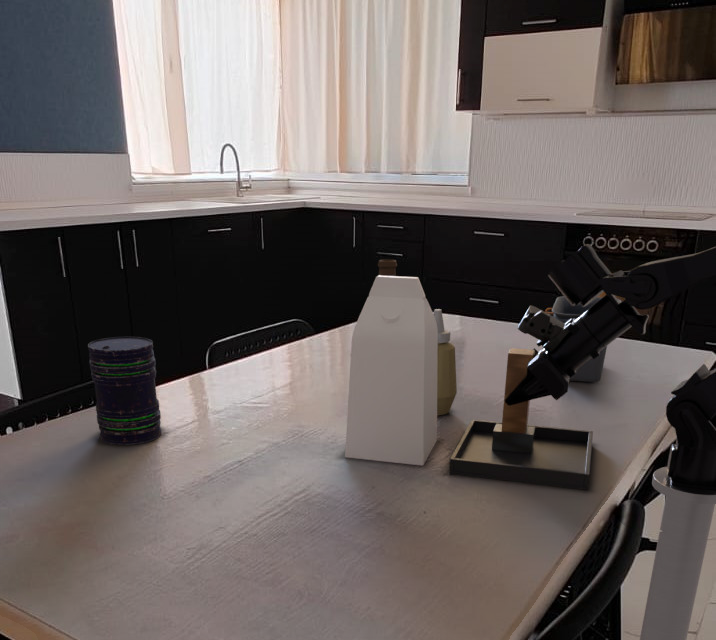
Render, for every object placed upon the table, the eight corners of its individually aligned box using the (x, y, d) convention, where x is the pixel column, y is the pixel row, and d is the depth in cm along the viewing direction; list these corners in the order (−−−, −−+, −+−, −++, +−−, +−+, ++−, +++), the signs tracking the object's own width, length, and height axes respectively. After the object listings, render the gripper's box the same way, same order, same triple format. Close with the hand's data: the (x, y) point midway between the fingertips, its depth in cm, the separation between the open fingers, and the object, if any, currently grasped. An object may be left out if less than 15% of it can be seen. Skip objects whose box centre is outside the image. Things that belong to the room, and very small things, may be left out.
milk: (436, 440, 123) (445, 273, 113) (423, 465, 113) (431, 284, 103) (364, 433, 126) (367, 270, 116) (344, 457, 116) (345, 280, 106)
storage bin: (612, 388, 153) (622, 315, 147) (533, 381, 157) (540, 310, 151) (612, 363, 171) (621, 298, 166) (541, 358, 175) (548, 294, 170)
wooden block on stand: (533, 445, 120) (543, 350, 114) (531, 453, 117) (541, 355, 111) (494, 441, 122) (502, 347, 116) (491, 449, 118) (499, 352, 112)
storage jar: (132, 421, 131) (122, 334, 125) (175, 431, 126) (166, 341, 120) (86, 438, 123) (72, 345, 117) (130, 449, 119) (118, 353, 113)
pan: (591, 444, 122) (592, 431, 121) (587, 490, 105) (589, 474, 104) (470, 432, 127) (471, 419, 126) (449, 473, 110) (449, 458, 109)
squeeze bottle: (419, 419, 133) (423, 315, 126) (404, 406, 140) (407, 306, 133) (462, 416, 135) (469, 313, 128) (445, 403, 142) (451, 304, 135)
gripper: (559, 279, 117) (481, 346, 124) (552, 298, 100) (462, 374, 108) (606, 334, 118) (526, 398, 125) (606, 362, 102) (514, 433, 109)
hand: (508, 399), depth 117 cm, fingers closed on wooden block on stand, 3 cm apart
